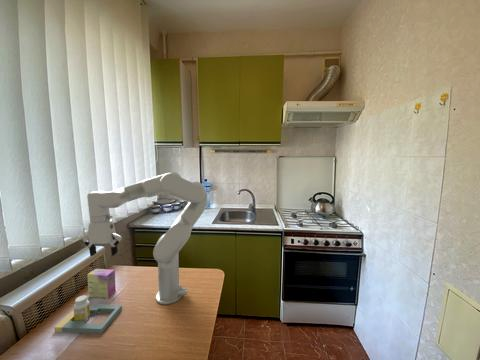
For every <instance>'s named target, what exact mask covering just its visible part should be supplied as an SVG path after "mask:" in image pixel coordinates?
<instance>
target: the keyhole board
mask: <svg viewBox="0 0 480 360" xmlns="http://www.w3.org/2000/svg"><path fill="white" fill-rule="evenodd" d="M122 305H123V304H121V305H120V304H97V303H96V304H93V303H91V304H90V315H98V314H99V313H101V314H102V313H103V314H104V313H105V314H109V315H108V317H106V319H105V320H104V321H103V322H102V323H87V321H74V309H73V310H72V311H71V312H69V314H67V316H65V317H64V318H63V319H62V320H61V321H60V322H59V323H57V324H56V325H55V326H54V327H53V329H54V333H71V334H75V333H77V334H78V333H79V334H97V335H98V334H99V335H101V334H103V333H104V332H105V331H106V329H107V328H108V327H109V326H110V325H111V323H112V322H113V321H114V320H115V319H116V318H117V316H118V315H119V314H120V313H121V311H122V310H123V307H122Z"/></svg>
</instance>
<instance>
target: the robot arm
mask: <svg viewBox="0 0 480 360" xmlns="http://www.w3.org/2000/svg"><path fill="white" fill-rule="evenodd" d="M166 193H168V194H170V195H172V196H173V197H176V198H179V199H181V200H183V201H186V202H188V203H187V204H186V205H185V207H184V208H183V210H182V211H181V212H180V213H179V215H178V216H177V217H176V218H175V219H174V220H173V222H171V225H170V227H169V228H168V230H167V232H165V233H164V234H162V235H161V236H160V237H159V238H158V240H157V242H156V243H155V246H154V248H153V251H152V255H153V258H154V260H155V261H156V262H157V272H158V273H157V274H158V292H156V295H155V301H156V302H157V303H158V304H159V305H160V304H161V305H170V304H173V303H176V302H178V301H179V300H180V299H181V298H182V296H185V295H186V296H187V295H188V293H189V291H188V290H187V287H182V283H180V267H179V266H180V265H179V263H180V261H179V260H180V259H179V256H180V255H179V252H180V251H181V250H182V249H183V247H184V246H185V244H186V243H187V242H188V240H189V239H190V237H191V235H192V234H191V233H192V230H193V227H194V226H195V224H196V223H197V222H198V220H199V219H200V217H202V215H203V214H204V211H205V210H206V207H207V203H208V194H207V191H206V188H205V186H204V185H203V183H201V182H199V181H193V182H192V181H190V180H187V179H186V178H183V177H182V176H181V174H179V173H178V172H175V171H169V172H167V173H163V174H159V175H156V176H152V177H151V178H150V177H149V178H147V179H143V180H140V181H139V182H136V183H132V184H130V185H127V186H123V187H120V188H117V189H113V190H111V191H105V190H94V191H91V192H89V193H88V194H87V197H86V198H87V207H88V213H89V223H88V228H87V229H88V231H87V233H88V234H87V235H86V236H84V237H82V238H81V240H82V241H83V242H84V245H86V246H87V248H88V250H89V255H90V257H93V256H94V255H96V254H97V248H96V247H97V246H96V245H102V244H109V245H110V246H111V247H110V250H111V256H113V257H114V256H115V255H116V254H117V253H118V250H119V249H118V245H119V244H120V242H121V241H122V238H123V236H122V235H120V234H118V233H116V232H117V231H116V227H115V224H114V222H113V215H111V213H110V209H116V208H119V207H121V206H123V205H125V204H126V203H129V202H131V201H135V200H138V199H141V198H147V199H148V198H149V199H150V198H153V197H156V196H159V195H162V194H163V195H164V194H166Z"/></svg>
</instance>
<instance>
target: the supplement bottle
mask: <svg viewBox="0 0 480 360" xmlns="http://www.w3.org/2000/svg"><path fill="white" fill-rule="evenodd" d="M73 310H74V321H86V322H87V321H88V320H89V319H90V318H91V314H90V301H89V299H88V296H87V295H80V296H78V297H76V298H75V301H74V304H73Z"/></svg>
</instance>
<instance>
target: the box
mask: <svg viewBox="0 0 480 360" xmlns="http://www.w3.org/2000/svg"><path fill="white" fill-rule="evenodd" d="M116 289H117V287H116V270H115V269H108V268H107V269H106V268H95V269H93V270H92V271H90V272H89V273H87V290H88V297H91V298H100V299H109V298H110V297H111V296H112V295H114V294H115V293H116Z"/></svg>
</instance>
